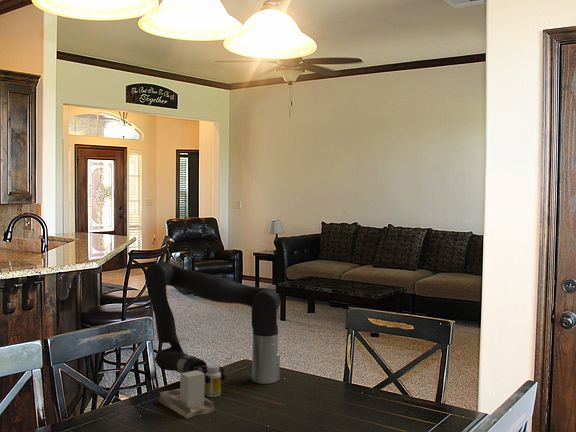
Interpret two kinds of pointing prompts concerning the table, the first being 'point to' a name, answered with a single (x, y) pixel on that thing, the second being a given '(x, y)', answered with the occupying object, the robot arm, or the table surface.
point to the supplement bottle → (213, 381)
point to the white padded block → (192, 388)
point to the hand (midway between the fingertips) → (217, 378)
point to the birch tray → (173, 402)
